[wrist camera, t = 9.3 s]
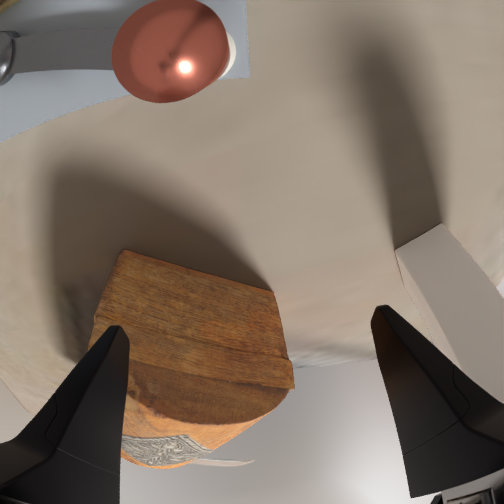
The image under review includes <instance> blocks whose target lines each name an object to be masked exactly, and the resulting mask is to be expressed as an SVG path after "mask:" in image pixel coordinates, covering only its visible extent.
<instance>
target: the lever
mask: <svg viewBox="0 0 504 504" xmlns="http://www.w3.org/2000/svg"><path fill="white" fill-rule="evenodd" d="M229 61H230V47H229V43H228V38H227V34H226V30H225V27H224V25H223V23H222V21H221V19H220V18H219V16H218V15H217V14H216V13H215V12H214V11H213V10H212V9H211V8H210V7H208V6H207V5H205V4H203V3H201V2H199V1H196V0H156V1H153V2H151V3H149V4H146V5H144V6H143V7H141V8H140V9H138V10H137V11H135V12H134V13H133V14H132V15H131V16H130V17H129V18H128V19H127V20H126V21H125V22H124V23H123V25H122V26H121V27H99V28H81V29H69V30H60V31H52V32H45V33H39V34H33V35H28V36H23V37H21V36H20V35H19V33H18V32H16V31H14V30H7V31H0V86H3V85H5V84H6V83H7V82H9V81H10V80H11V79H12V77H13V76H14V74H17V73H26V72H36V71H50V70H114V73H115V75H116V78H117V79H118V81H119V83H120V84H121V85H122V86H123V88H125V89H126V90H127V91H128V92H129V93H131V94H132V95H134V96H135V97H137V98H139V99H142V100H145V101H149V102H155V103H169V102H175V101H179V100H183V99H185V98H188V97H190V96H192V95H194V94H196V93H197V92H199V91H201V90H202V89H204V88H205V87H207V86H208V85H210V84H212V83H213V82H215V81H216V80H217V79H219V78H220V77H221V76H222V75H223V73H224V72H225V71H226V69H227V67H228V65H229Z"/></svg>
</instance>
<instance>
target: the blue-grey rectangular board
mask: <svg viewBox="0 0 504 504" xmlns="http://www.w3.org/2000/svg"><path fill="white" fill-rule="evenodd" d="M153 1H156V0H6V1H5V2H4V3H3V4H2V5H0V31H7V30H14V31H16V32H18V33H19V35H20V36H21V37H23V36H28V35H33V34H39V33H45V32H52V31H60V30H69V29H81V28H99V27H121V26H122V25H123V23H124V22H125V21H126V20H127V19H128V18H129V17H130V16H131V15H132V14H133V13H134V12H135V11H137V10H138V9H140V8H141V7H143V6H144V5H146V4H149V3H151V2H153ZM196 1H199V2H201V3H203V4H205V5H207V6H208V7H210V8H211V9H212V10H213V11H214V12H215V13H216V14H217V15H218V16H219V18H220V19H221V21H222V23H223V25H224V27H225V30H226V34H227V38H228V43H229V47H230V61H229V65H228V67H227V69H226V71H225V72H224V73H223V75H222V76H221V77H220V78H219V79H217V80H222V79H233V78H249V77H250V65H249V48H248V32H247V16H246V0H196ZM127 95H131V93H129V92H128V91H127V90H126V89H125V88H123V86H122V85H121V84H120V83H119V81H118V79H117V78H116V75H115V73H114V70H50V71H36V72H26V73H17V74H14V76H13V77H12V79H11V80H10V81H9V82H7V83H6V84H5V85H3V86H0V143H1V142H3V141H5V140H7V139H9V138H11V137H13V136H15V135H17V134H19V133H21V132H23V131H26V130H28V129H30V128H32V127H35V126H37V125H39V124H42V123H44V122H46V121H49V120H51V119H54V118H57V117H59V116H62V115H65V114H67V113H70V112H73V111H76V110H79V109H82V108H85V107H88V106H91V105H94V104H98V103H101V102H104V101H108V100H112V99H115V98H119V97H123V96H127Z"/></svg>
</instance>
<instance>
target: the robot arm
mask: <svg viewBox="0 0 504 504" xmlns="http://www.w3.org/2000/svg"><path fill="white" fill-rule="evenodd" d="M371 329H372V334H373V339H374V344H375V349H376V354H377V359H378V363H379V367H380V370H381V373H382V377H383V380H384V383H385V387H386V390H387V394H388V397H389V401H390V405H391V408H392V412H393V416H394V420H395V424H396V428H397V432H398V436H399V441H400V445H401V449H402V455H403V460H404V465H405V470H406V475H407V480H408V486H409V491H410V497H411V498H415V497H420V496H424V495H428V494H432V493H436V492H440V491H441V493H440V494H438V495H436V496H435V497H434V499H433V501H432V502H431V504H504V403H502V402H500V401H498V400H497V399H496V398H494V397H493V396H492V395H490V394H489V393H488V392H487V391H485V390H484V389H483V388H482V387H480V386H479V385H478V384H477V383H475V382H474V381H473V380H472V379H470V378H469V377H468V376H467V375H466V374H465V373H464V372H463V371H461V370H460V369H459V368H458V367H457V366H456V365H455V364H453V362H452V361H451V360H450V359H448V358H447V357H446V356H445V355H444V354H443V353H442V352H441V351H440V350H439V349H438V348H436V347H435V346H434V345H433V344H432V343H431V342H430V341H429V340H428V339H426V338H425V337H424V336H423V335H422V334H421V333H420V332H419V331H418V330H416V329H415V328H414V327H413V326H412V325H411V324H410V323H408V322H407V321H406V320H405V319H404V318H403V317H402V316H400V315H399V314H398V313H397V312H396V311H395V310H393V309H392V308H391V307H390V306H389V305H380V306H377V307H376V309H375V311H374V314H373V316H372V319H371ZM129 353H130V340H129V338H128V336H127V334H126V333H125V331H124V329H123V328H122V326H120V325H111V326H109V327H108V328H107V329H106V331H105V332H104V333H103V334H102V335H101V336H100V337H99V339H98V340H97V341H96V342H95V343H94V345H93V346H92V347H91V348H90V349H89V350H88V352H87V353H86V354H85V355H84V356H83V358H82V359H81V360H80V361H79V363H78V364H77V365H76V366H75V367H74V369H73V370H72V371H71V372H70V374H69V375H68V376H67V377H66V379H65V380H64V381H63V382H62V384H61V385H60V386H59V387H58V389H57V390H56V391H55V393H54V394H53V395H52V396H51V398H50V399H49V400H48V401H47V403H46V404H45V405H44V406H43V408H42V409H41V410H40V411H39V412H38V413H37V415H36V416H35V417H34V418H33V419H32V420H31V421H30V422H29V423H28V424H27V426H26V427H25V428H24V429H23V430H22V431H21V432H20V433H19V434H18V435H17V436H16V437H15V438H13V439H12V440H10V441H7V442H4V443H0V504H119V502H120V501H119V499H120V460H121V444H122V432H123V421H124V411H125V403H126V395H127V387H128V376H129Z"/></svg>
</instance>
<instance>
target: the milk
mask: <svg viewBox="0 0 504 504" xmlns="http://www.w3.org/2000/svg"><path fill="white" fill-rule="evenodd" d="M395 254H396V257H397V261H398V264H399V268H400V272H401V276H402V279H403V283H404V286H405V288H406V290H407V292H408V293H409V295H410V297H411V299H412V301H413V302H414V304H415V306H416V308H417V310H418V311H419V313H420V315H421V317H422V319H423V321H424V323H425V325H426V327H427V329H428V331H429V333H430V335H431V337H432V339H433V341H434V343H435V344H436V347H437V348H438V349H439V350H440V351H441V352H442V353H443V354H444V355H445V356H446V357H447V358H448V359H450V360H451V361H452V362H453V364H455V365H456V366H457V367H458V368H459V369H460V370H461V371H463V372H464V373H465V374H466V375H467V376H468V377H469V378H470V379H472V380H473V381H474V382H475V383H477V384H478V385H479V386H480V387H482V388H483V389H484V390H485V391H487V392H488V393H489V394H490V395H492V396H493V397H494V398H496V399H497V400H498V401H500V402H502V403H504V298H503V297H502V296H501V294H500V293H499V291H498V290H497V288H496V287H495V286H494V284H493V283H492V282H491V280H490V279H489V278H488V276H487V275H486V274H485V272H484V271H483V270H482V269H481V267H480V266H479V265H478V264H477V262H476V261H475V260H474V259H473V257H472V256H471V255H470V254H469V253H468V251H467V250H466V249H465V248H464V247H463V246H462V244H461V243H460V242H459V241H458V240H457V239H456V238H455V237H454V235H453V234H452V233H451V232H450V231H449V230H448V229H447V228H446V227H445V226H444V225H443V224H442V223H441V224H439V225H438V226H436V227H434V228H432V229H431V230H429V231H427V232H426V233H424V234H422V235H421V236H419V237H417V238H415V239H414V240H412V241H410V242H408V243H407V244H405V245H403V246H401V247H399V248H398V249H396V250H395Z"/></svg>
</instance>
